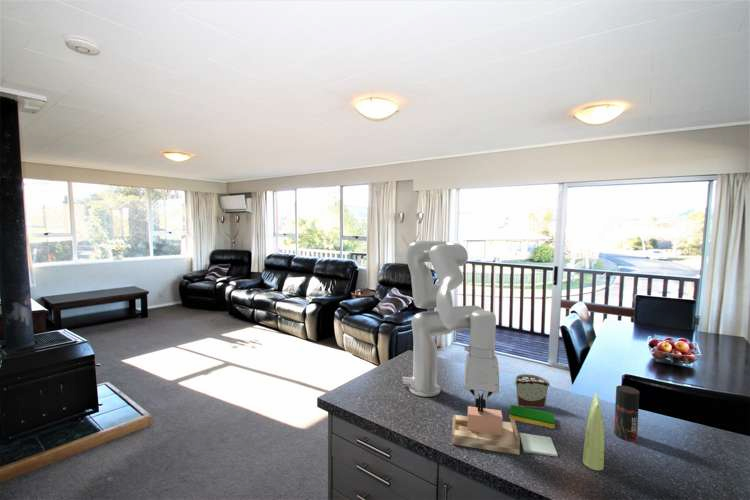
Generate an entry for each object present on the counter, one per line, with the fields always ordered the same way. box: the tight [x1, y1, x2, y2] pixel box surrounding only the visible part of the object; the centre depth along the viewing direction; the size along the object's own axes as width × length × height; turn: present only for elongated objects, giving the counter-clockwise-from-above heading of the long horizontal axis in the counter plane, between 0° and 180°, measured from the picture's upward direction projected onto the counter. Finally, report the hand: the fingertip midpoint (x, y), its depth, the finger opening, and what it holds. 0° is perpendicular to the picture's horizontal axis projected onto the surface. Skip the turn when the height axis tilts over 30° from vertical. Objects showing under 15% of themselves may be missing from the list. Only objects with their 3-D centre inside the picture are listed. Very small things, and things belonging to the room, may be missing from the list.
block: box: [467, 405, 504, 436], centre depth 109 cm, size 5×5×10 cm
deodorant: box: [613, 385, 640, 442], centre depth 111 cm, size 6×6×15 cm
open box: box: [451, 414, 521, 456], centre depth 109 cm, size 19×12×4 cm, turn 76°
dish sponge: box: [508, 404, 556, 429], centre depth 121 cm, size 7×14×2 cm, turn 65°
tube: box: [582, 391, 605, 471], centre depth 96 cm, size 6×5×20 cm
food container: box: [513, 373, 550, 409], centre depth 132 cm, size 12×6×10 cm, turn 84°
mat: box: [518, 432, 559, 458], centre depth 106 cm, size 9×9×1 cm
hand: (480, 409), depth 109 cm, fingers closed
